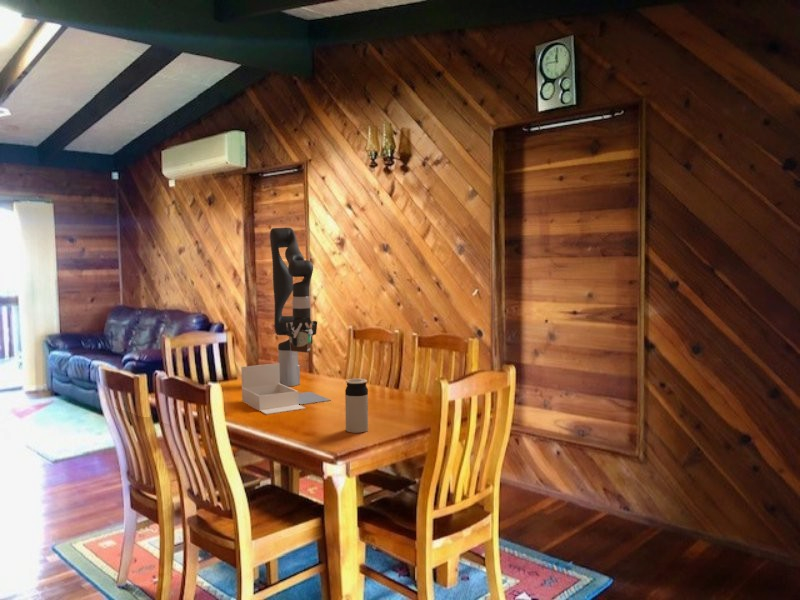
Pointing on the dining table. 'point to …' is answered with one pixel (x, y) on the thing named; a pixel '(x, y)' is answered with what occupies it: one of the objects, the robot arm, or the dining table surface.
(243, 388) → the carton
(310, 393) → the slate mat
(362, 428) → the travel mug
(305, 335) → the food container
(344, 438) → the dining table surface
